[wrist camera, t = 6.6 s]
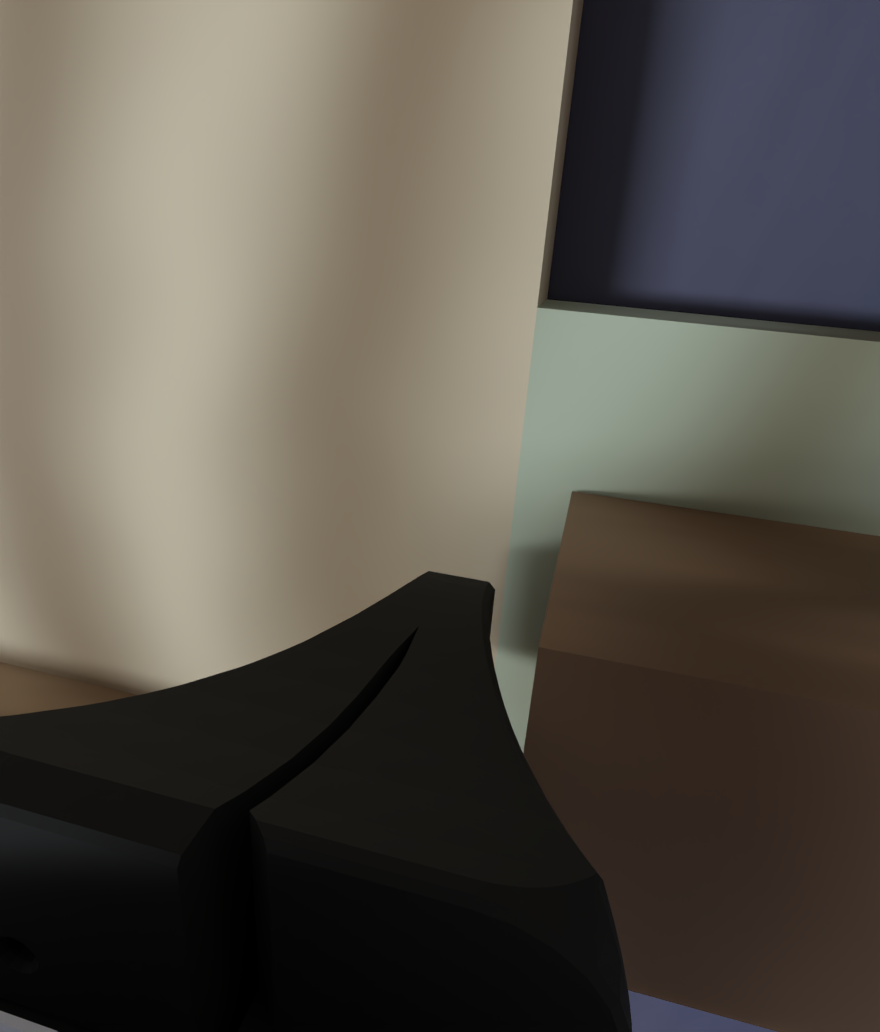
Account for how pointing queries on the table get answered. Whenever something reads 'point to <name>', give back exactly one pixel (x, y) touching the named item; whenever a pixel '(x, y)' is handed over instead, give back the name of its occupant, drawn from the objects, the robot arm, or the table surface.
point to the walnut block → (721, 753)
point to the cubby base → (338, 340)
